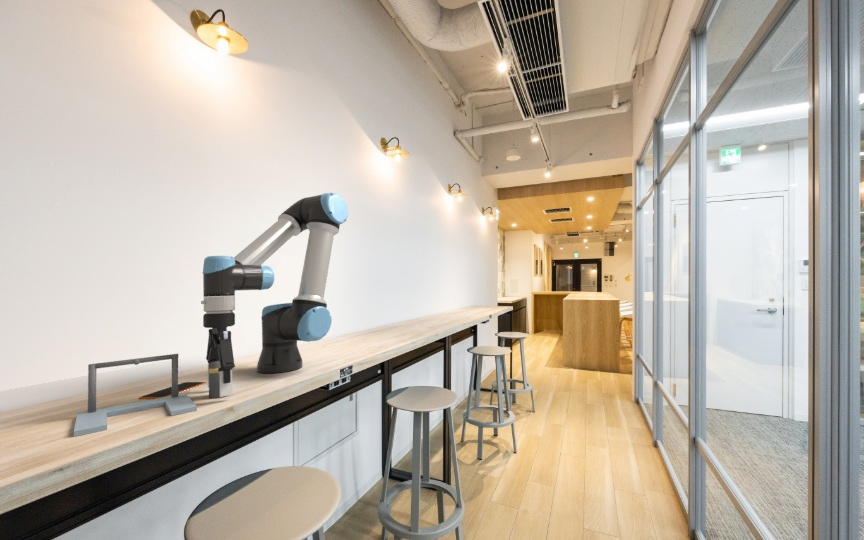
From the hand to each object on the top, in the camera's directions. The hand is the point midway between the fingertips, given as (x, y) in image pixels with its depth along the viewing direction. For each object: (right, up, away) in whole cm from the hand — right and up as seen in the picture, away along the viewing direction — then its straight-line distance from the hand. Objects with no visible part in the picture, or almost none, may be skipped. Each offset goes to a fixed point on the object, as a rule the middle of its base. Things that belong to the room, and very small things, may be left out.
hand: (219, 390), depth 99 cm
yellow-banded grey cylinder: (0, -1, 0) cm, 1 cm away
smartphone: (-17, -3, +7) cm, 19 cm away
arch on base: (-12, -1, -13) cm, 18 cm away
